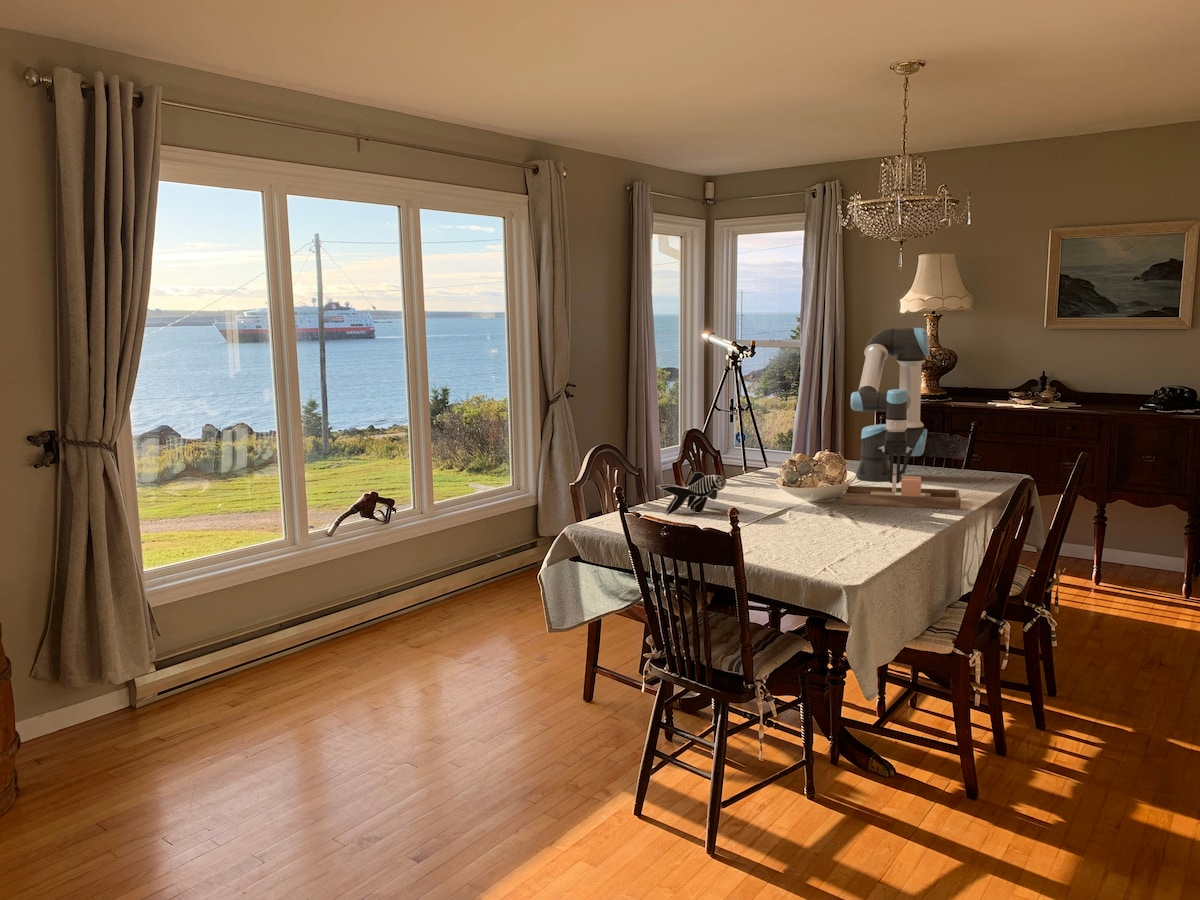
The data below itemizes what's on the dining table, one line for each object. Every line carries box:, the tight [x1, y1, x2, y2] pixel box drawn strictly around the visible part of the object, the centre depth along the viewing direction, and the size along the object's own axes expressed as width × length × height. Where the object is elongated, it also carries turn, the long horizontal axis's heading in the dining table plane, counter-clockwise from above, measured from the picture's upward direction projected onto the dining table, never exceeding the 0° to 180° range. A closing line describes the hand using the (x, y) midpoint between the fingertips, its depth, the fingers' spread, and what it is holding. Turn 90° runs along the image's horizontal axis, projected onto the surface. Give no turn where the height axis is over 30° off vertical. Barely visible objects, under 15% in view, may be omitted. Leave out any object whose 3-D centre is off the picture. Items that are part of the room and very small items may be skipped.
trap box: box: [841, 485, 962, 510], centre depth 344 cm, size 16×42×4 cm, turn 71°
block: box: [900, 475, 922, 496], centre depth 342 cm, size 7×7×7 cm
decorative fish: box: [655, 471, 728, 516], centre depth 336 cm, size 16×26×15 cm, turn 102°
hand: (894, 491), depth 344 cm, fingers closed
